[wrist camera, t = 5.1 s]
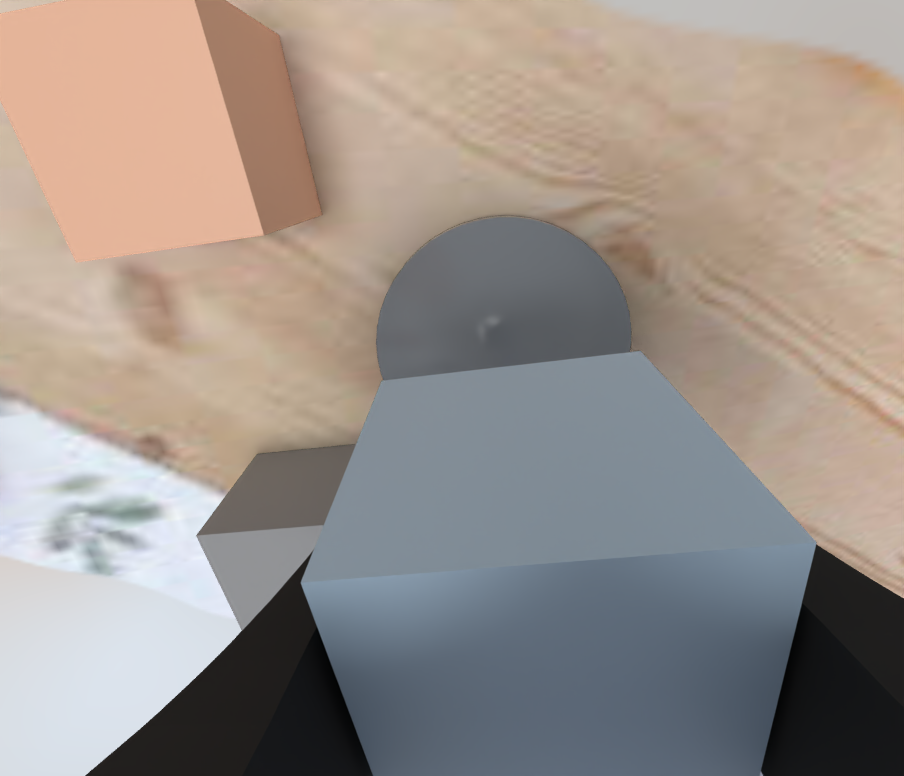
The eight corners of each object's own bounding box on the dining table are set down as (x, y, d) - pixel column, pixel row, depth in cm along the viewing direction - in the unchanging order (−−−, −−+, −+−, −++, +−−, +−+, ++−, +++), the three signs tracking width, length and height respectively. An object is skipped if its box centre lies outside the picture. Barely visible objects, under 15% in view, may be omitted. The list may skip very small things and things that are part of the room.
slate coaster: (676, 290, 16) (685, 295, 16) (543, 477, 20) (545, 489, 19) (443, 164, 15) (442, 165, 14) (346, 390, 19) (340, 399, 18)
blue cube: (640, 350, 9) (816, 542, 4) (634, 550, 11) (749, 818, 7) (381, 380, 9) (300, 582, 5) (422, 567, 11) (392, 829, 7)
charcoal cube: (370, 441, 20) (340, 523, 15) (393, 532, 22) (372, 628, 17) (257, 452, 20) (196, 535, 16) (290, 541, 22) (244, 636, 18)
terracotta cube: (280, 35, 14) (187, -25, 9) (323, 214, 16) (264, 235, 12) (122, 65, 14) (-37, 21, 10) (184, 234, 16) (76, 262, 12)
